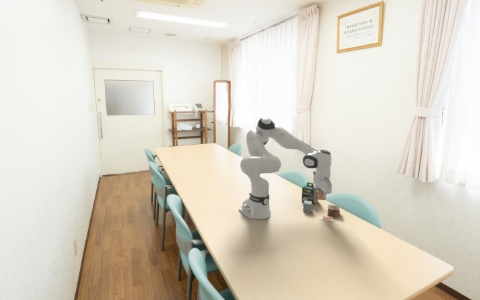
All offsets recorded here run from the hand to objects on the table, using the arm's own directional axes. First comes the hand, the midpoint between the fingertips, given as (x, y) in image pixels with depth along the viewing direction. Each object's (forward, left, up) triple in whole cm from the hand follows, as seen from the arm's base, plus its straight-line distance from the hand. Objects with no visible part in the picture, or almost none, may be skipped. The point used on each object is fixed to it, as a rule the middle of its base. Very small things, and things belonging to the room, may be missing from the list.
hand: (321, 195), depth 173 cm
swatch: (+8, -4, -12) cm, 15 cm away
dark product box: (-16, +10, -12) cm, 23 cm away
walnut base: (+7, +5, -12) cm, 15 cm away
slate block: (-7, -4, -12) cm, 15 cm away
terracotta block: (0, 0, -2) cm, 2 cm away
